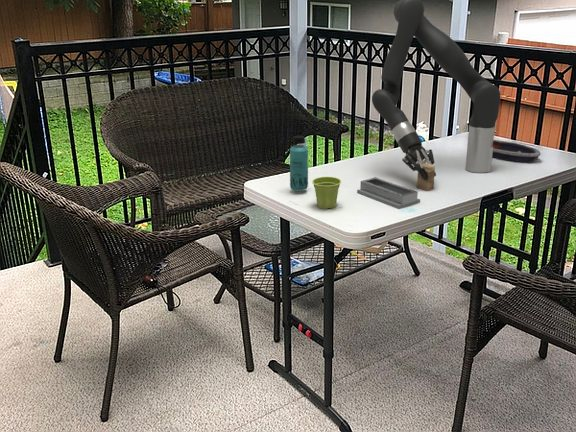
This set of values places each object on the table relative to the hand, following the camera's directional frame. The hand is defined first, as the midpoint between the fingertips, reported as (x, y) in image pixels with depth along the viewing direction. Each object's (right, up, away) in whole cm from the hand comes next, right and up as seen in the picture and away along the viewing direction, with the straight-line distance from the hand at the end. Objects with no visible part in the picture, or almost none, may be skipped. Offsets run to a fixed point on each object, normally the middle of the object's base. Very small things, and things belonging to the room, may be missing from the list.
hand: (430, 177), depth 208 cm
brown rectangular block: (-1, -4, +3) cm, 5 cm away
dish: (+40, +11, +40) cm, 58 cm away
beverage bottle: (-46, -5, +2) cm, 46 cm away
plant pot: (-37, -10, -11) cm, 40 cm away
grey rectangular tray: (-16, -7, -5) cm, 18 cm away
